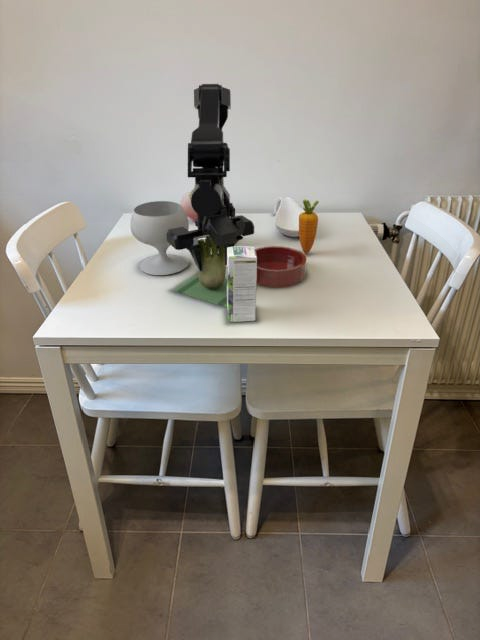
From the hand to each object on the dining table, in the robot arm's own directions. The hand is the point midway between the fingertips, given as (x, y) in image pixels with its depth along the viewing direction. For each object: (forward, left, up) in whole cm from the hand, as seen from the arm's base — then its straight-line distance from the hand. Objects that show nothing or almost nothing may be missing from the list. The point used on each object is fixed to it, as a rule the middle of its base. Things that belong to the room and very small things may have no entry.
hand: (212, 267), depth 109 cm
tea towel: (0, 0, -6) cm, 6 cm away
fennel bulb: (0, 0, -5) cm, 5 cm away
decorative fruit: (-31, +35, -6) cm, 47 cm away
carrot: (+10, +29, -6) cm, 31 cm away
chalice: (-18, +4, -6) cm, 19 cm away
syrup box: (+12, -7, -6) cm, 15 cm away
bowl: (+9, +14, -6) cm, 18 cm away
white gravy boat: (-3, +45, -6) cm, 45 cm away
